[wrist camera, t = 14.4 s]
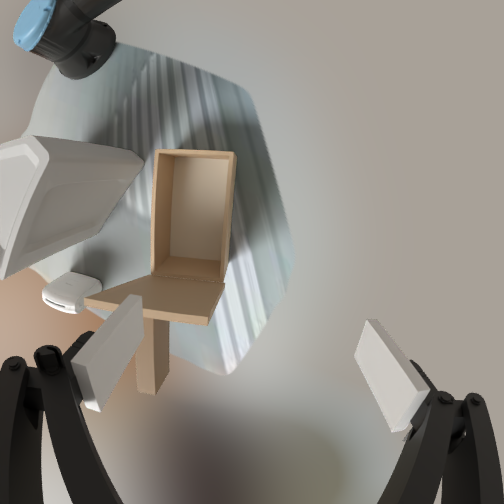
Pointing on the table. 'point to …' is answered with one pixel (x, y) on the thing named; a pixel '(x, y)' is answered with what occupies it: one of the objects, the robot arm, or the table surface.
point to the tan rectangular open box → (192, 213)
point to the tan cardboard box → (161, 317)
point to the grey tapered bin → (56, 195)
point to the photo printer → (70, 292)
